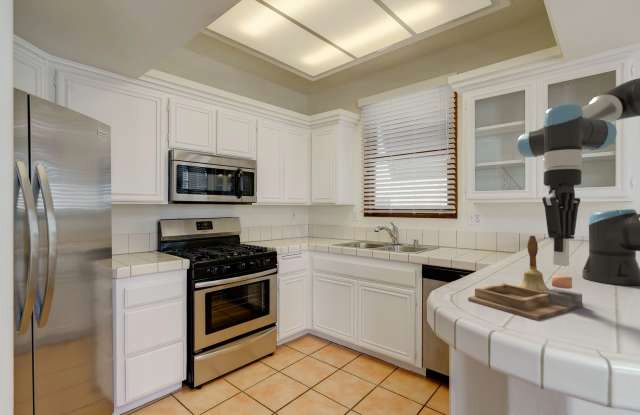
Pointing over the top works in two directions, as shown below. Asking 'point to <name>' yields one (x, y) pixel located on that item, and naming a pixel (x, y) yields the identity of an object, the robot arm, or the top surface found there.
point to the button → (562, 281)
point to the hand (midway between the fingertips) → (561, 264)
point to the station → (527, 300)
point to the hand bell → (533, 270)
